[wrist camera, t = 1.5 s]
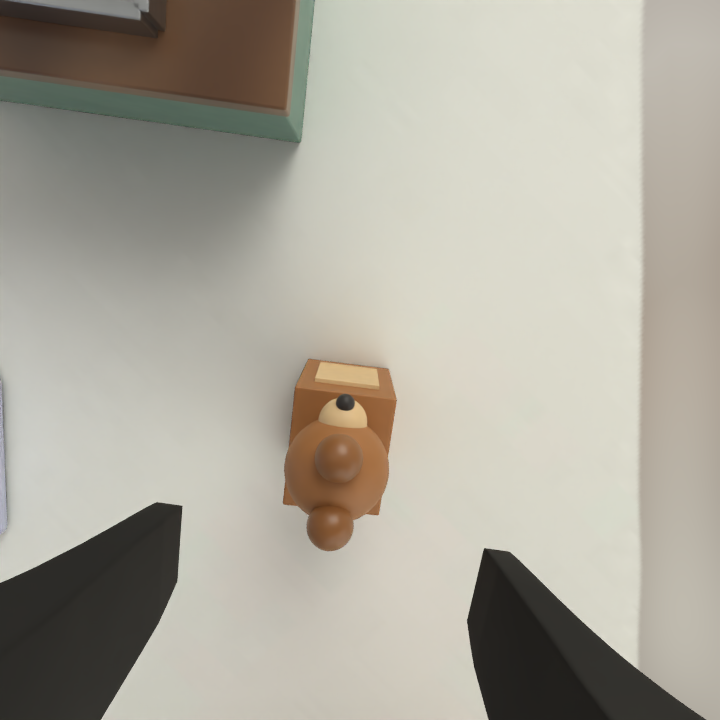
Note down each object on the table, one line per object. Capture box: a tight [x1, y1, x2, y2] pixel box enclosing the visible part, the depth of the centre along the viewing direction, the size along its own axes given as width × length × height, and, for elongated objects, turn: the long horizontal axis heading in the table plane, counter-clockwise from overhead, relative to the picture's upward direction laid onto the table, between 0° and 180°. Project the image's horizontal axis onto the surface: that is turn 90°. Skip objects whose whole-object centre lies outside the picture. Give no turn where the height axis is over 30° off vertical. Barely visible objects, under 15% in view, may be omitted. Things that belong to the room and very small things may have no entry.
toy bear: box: [283, 359, 397, 551], centre depth 17 cm, size 4×5×8 cm
